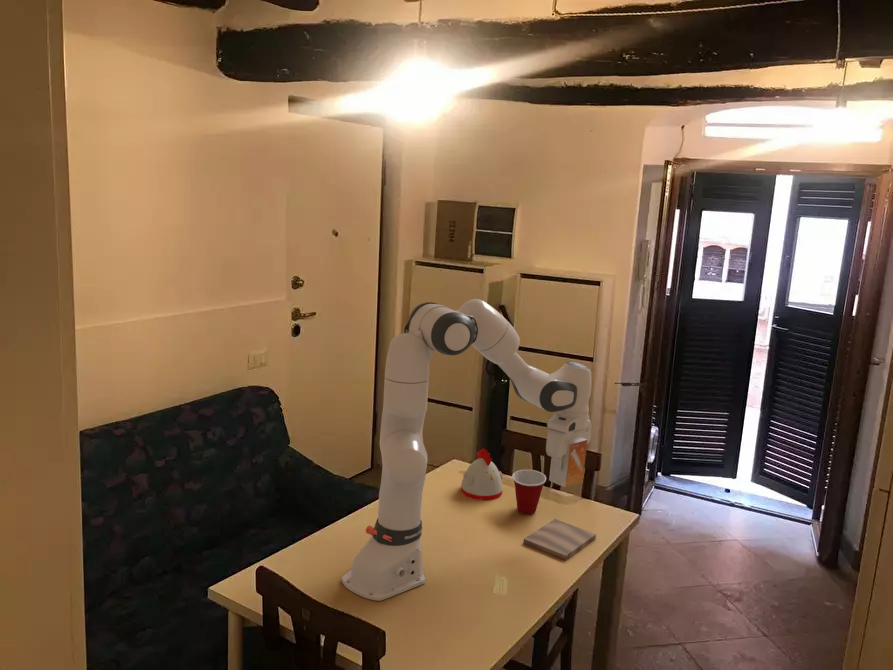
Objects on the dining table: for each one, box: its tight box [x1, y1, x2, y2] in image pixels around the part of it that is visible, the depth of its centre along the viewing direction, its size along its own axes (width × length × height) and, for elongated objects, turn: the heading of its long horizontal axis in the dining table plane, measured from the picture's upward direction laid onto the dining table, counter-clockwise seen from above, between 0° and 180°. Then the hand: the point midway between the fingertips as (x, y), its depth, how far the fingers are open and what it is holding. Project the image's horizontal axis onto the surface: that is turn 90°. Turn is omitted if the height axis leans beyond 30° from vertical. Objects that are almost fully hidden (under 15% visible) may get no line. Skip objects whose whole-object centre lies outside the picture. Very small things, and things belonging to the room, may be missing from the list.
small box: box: [548, 438, 588, 488], centre depth 210 cm, size 8×6×13 cm
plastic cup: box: [511, 469, 547, 516], centre depth 232 cm, size 11×11×12 cm
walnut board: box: [523, 518, 597, 561], centre depth 215 cm, size 18×14×2 cm
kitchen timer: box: [460, 448, 503, 501], centre depth 245 cm, size 14×14×15 cm
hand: (567, 464), depth 210 cm, fingers closed on small box, 8 cm apart
